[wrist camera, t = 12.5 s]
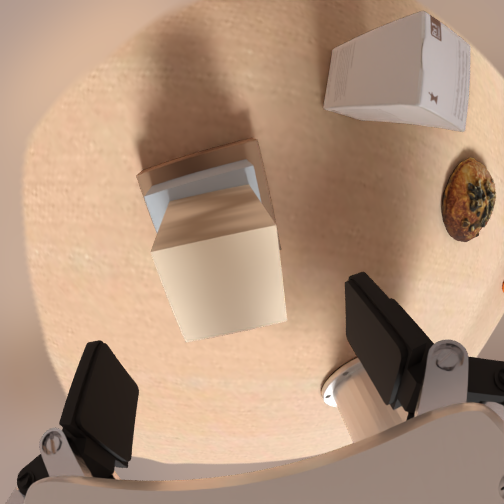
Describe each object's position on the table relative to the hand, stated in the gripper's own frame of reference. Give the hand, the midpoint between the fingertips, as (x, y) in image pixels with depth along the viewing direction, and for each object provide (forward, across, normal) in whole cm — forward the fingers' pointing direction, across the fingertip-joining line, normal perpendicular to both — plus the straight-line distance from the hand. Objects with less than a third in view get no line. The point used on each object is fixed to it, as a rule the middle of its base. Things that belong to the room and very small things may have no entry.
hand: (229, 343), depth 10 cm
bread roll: (+16, -30, +5) cm, 35 cm away
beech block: (+10, 0, -1) cm, 10 cm away
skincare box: (+15, -14, -9) cm, 22 cm away
